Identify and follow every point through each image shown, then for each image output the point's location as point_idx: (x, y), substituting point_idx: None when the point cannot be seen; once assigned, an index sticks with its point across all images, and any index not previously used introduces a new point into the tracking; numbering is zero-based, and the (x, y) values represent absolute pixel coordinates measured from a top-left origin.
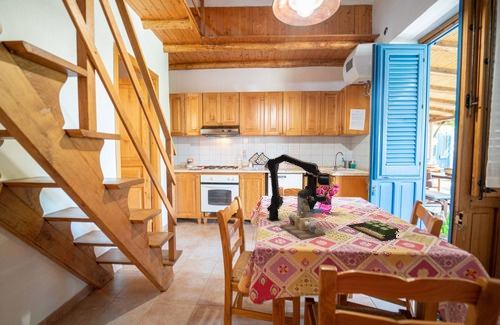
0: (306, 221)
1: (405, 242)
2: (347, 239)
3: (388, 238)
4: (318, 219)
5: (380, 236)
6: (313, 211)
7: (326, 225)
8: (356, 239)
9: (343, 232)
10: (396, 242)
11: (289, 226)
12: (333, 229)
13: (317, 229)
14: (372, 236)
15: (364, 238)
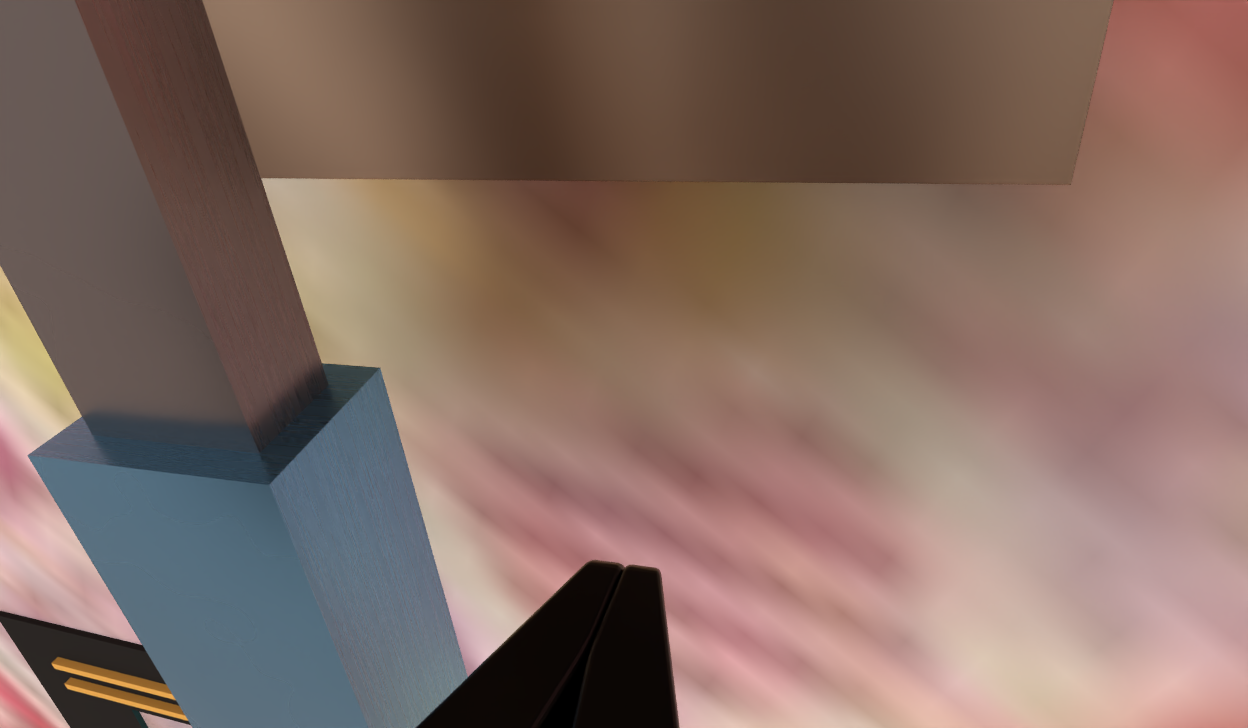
0: None
1: (17, 723)
2: (9, 353)
3: (81, 706)
4: (1025, 694)
5: (102, 694)
6: (91, 401)
7: (640, 554)
8: (27, 453)
9: None
10: (5, 678)
11: None
12: (421, 498)
13: (293, 134)
14: (121, 651)
15: (72, 551)
